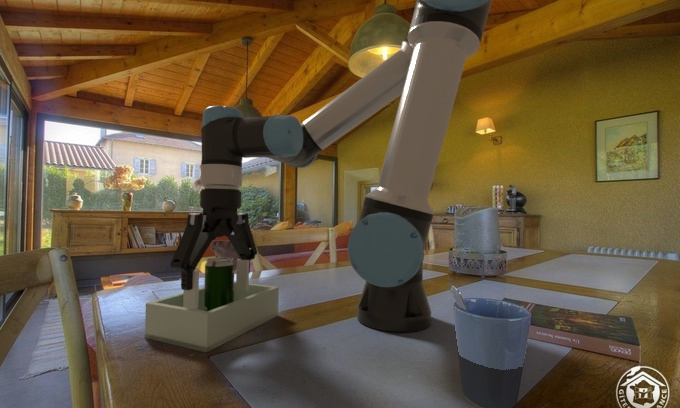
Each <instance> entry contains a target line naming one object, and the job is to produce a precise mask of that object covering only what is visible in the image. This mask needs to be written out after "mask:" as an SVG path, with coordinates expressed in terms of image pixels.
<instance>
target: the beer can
mask: <svg viewBox="0 0 680 408" xmlns="http://www.w3.org/2000/svg"><path fill="white" fill-rule="evenodd" d="M234 282H235V262H234V258H233V257H228V256H219V257H208V258H207V259H206V262H205V265H204V287H205V288H204V311H210V310H213V309H215V308H218V307H221V306H224V305H226V304H229V303H232V302H234Z"/></svg>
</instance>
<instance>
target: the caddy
mask: <svg viewBox="0 0 680 408" xmlns="http://www.w3.org/2000/svg"><path fill="white" fill-rule="evenodd" d="M204 288H205V286H203V287H200V288H199V295H198V308H197V309H191V308H185V307H183V294H184V292H181V293H177V294H175V295H170V296H166V297H163V298H159V299H157V300H152V301H149V302H146V303H145V315H144V316H145V320H144V322H145V323H144V326H145V327H144V328H145V329H144V338H145V339H148V340H152V341H157V342H162V343H163V344H169V345H174V346H178V347H182V348H186V349H189V350H195V351H199V352H203V353H209V352H211V351H213V350H214V349H216V348H218V347H220V346H222V345H224V344H227V343H228V342H229V341H232V340H234V339H236V338H238V337H239V336H241V335H243V334H245V333H247V332H249V331H251V330H253V329H255V328H257V327H259V326H261V325H264V324H265V323H266V322H268V321H270V320H272V319H274V318H276V317H278V316H279V293H280V287H279V286H273V285H265V284H256V283H249V291H239V290H236V281H234V302H232V303H229V304H226V305H224V306H221V307H218V308H215V309H213V310H210V311H204Z"/></svg>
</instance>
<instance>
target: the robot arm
mask: <svg viewBox="0 0 680 408" xmlns="http://www.w3.org/2000/svg"><path fill="white" fill-rule="evenodd" d="M492 2H493V0H416V2H415V6H414V10H413V14H412V18H411V21H410V26H409V30H408V33H407V38H406V39H405V40H403V41H402V42H401V46H400V49H399V50H398V51H397V52H396V53H394V54H393V55H391V56H390V57H388V58H387V59H386V60H384V61H383V62H382V63H380V64H379V65H377V67H375V68H374V69H372V70H371V71H370V72H368V73H367V74H365V75H364V76H363V77H362V78H360V79H359V80H357V82H355V83H353V84H352V85H351V86H350V87H348V88H347V89H346V90H344V91H343V92H342V93H340V94H339V95H337V96H336V97H335V98H333V99H332V100H331V101H329V102H328V103H327V104H325V105H324V106H323V107H321V108H320V109H319V110H317V111H316V112H314V113H313V114H312V115H310V116H309V117H307V118H306V119H305V120H303V122H301V123H300V121H299V119H298V118H297V117H296V116H294V115H281V114H275V115H267V116H254V117H252V116H251V117H244V115H243V113H242V111H241V110H239V109H238V108H235V107H233V106H227V105H224V106H222V105H211V106H208V107H206V108H205V109H204V110H203V113H202V120H201V121H202V122H201V127H200V135H201V138H200V139H201V160H200V161H201V162H200V186H202V187H203V188H201V190H200V194H199V195H200V196H199V207H200V208H202V213H199V212H198V213H197V212H196V213H195V212H194V213H193V212H191V213H188V214H187V219H186V226H185V228H184V231H183V234H182V235H181V238H180V240H179V243H178V245H177V248H176V250H175V252H174V255H173V256H172V259H171V261H170V268H171V269H176V270H179V271H180V288H181V290H183V293H184V294H183V307H185V308H191V309H197V308H198V295H199V287H200V281H199V280H200V270H197V269H196V268H197V266H198V265H199V263H200V261H201V260H202V258H203V256H204V255H205V253H206V252H207V250H208V248H209V247H210V245H211V244H212V242H213V241H214V240H216V239H217V238H222V237H226V238H227V239H228V240H229V243H230V244H231V246H232V248H233V249H234V250H235V252H236V254H237V256H238V257H239V258H237V259H236V273H235V274H236V279H235V280H236V281H235V282H236V290H239V291H249V284H250V273H251V260H255V258H256V256H257V255H258V250H257V246H256V243H255V240H254V237H253V234H252V230H251V227H250V223H249V214H248V213H247V212H246V213H244V212H238V210H239V209H241V207H242V191H241V190H240V188H241V187H242V186H243V168H242V167H243V165H242V164H243V159H247V158H248V159H249V158H266V159H267V158H268V159H270V160H274V161H277V162H279V163H282V164H285V165H288V166H289V167H291V168H297V169H298V168H301V169H303V168H304V169H305V168H308V167H309V166H311V165H312V164H313V163H314V162H315V161H316V159H317V157H318V154H319V153H321V152H322V151H324V149H326V148H328V147H329V146H330V145H332V144H334V143H335V142H337V141H338V140H339V139H340V138H342V137H344V135H346V134H348V133H349V132H350V131H352V130H353V129H355V128H356V127H358V126H359V125H361V124H362V123H363V122H364V121H365V122H366V120H368V119H369V118H371V117H372V116H373V115H374V114H376V113H378V112H379V111H380V110H381V109H383V108H384V107H386V106H387V105H389V104H390V103H392V102H393V101H394V100H396V99H397V98H399V97H400V99H399V103H398V106H397V110H396V114H395V118H394V122H393V126H392V130H391V134H390V137H389V141H388V144H387V148H386V154H385V156H384V159H383V164H382V167H381V172H380V175H379V178H378V183H377V185H376V187H375V189H374V190H372V191H370V192H369V193H366V194H365V196H364V201H363V204H362V207H361V211H360V216H359V219H358V221H357V223H356V224H355V226H354V227H353V228H352V230H351V232H350V234H349V237H348V242H347V255H348V260H349V263H350V265H351V266H352V269H353V270H354V271H355V272H356V274H357V275H358V276H359V277H360V278H361V279H362V280H363V281H365V284H364V285H363V289H362V292H361V295H360V297H359V301H358V304H357V307H356V308H357V309H356V310H357V311H356V318H357V320H358V321H359V323H361V324H362V325H364V326H367V327H369V328H372V329H374V330H380V331H383V332H384V331H385V332H392V333H408V332H417V331H420V330H425V329H427V328H429V327H430V325H431V324H432V311H431V307H430V303H429V300H428V297H427V295H426V290H425V287H424V284H423V283H424V282H423V280H424V279H423V273H424V271H423V270H424V266H423V265H424V259H425V246H426V244H427V240H428V236H429V233H430V229H431V225H432V222H433V217H434V213H435V212H434V211H433V209H432V207H431V205H430V204H429V200H428V199H429V197H430V194H431V193H430V192H431V188H432V185H433V182H434V178H435V174H436V170H437V167H438V163H439V159H440V155H441V151H442V148H443V144H444V141H445V137H446V134H447V130H448V126H449V123H450V119H451V116H452V111H453V108H454V104H455V100H456V98H457V97H456V96H457V94H458V89H459V86H460V83H461V79H462V75H463V71H464V67H465V63H466V61H467V59H468V58H471V57H473V55H475V54H476V53H477V52H478V51H479V49H480V46H481V42H482V38H483V35H484V31H485V27H486V23H487V20H488V17H489V13H490V9H491V6H492Z"/></svg>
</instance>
